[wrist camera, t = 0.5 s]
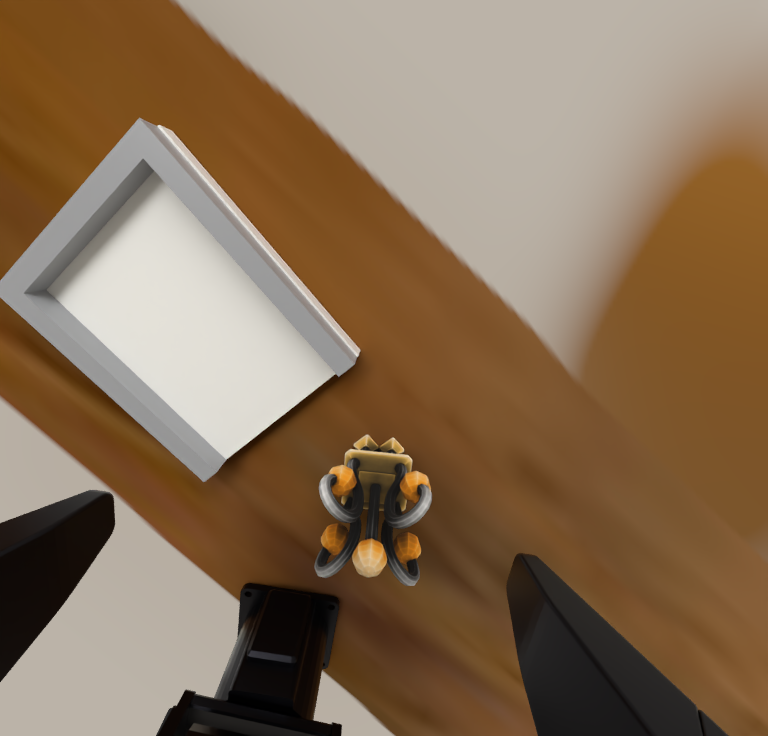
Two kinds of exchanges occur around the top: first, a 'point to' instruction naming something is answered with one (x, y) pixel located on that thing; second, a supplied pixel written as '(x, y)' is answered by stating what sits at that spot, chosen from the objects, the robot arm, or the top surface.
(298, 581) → the top surface
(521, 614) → the robot arm
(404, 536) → the figurine
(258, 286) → the tray
